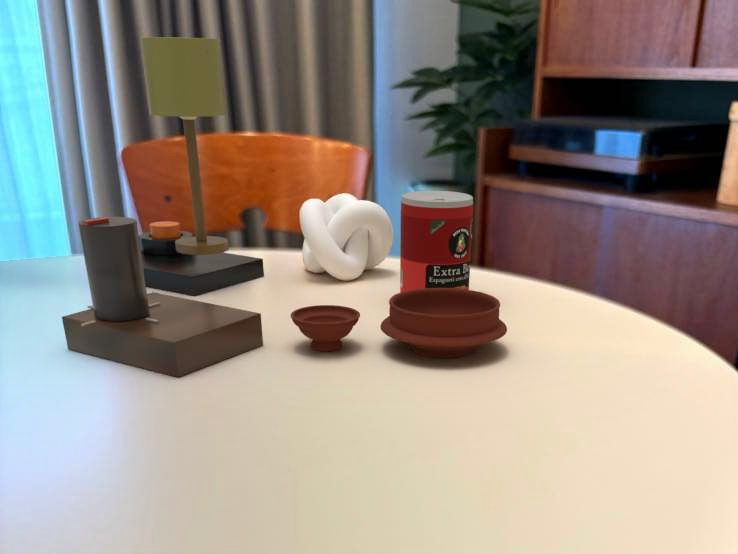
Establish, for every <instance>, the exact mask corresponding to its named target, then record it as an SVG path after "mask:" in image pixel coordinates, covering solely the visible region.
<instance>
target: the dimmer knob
mask: <svg viewBox="0 0 738 554" xmlns="http://www.w3.org/2000/svg"><path fill="white" fill-rule="evenodd" d="M77 224H78V230H79V236H80V243H81V246H82V247H81V248H82V251H83V252H82V253H83V259H84V264H85V265H84V266H85V270H86V276H87V281H88V286H89V293H90V299H91V304H92V306H93V310H94V315H95V317H96V318H97V319H100V320H104V321H129V320H135V319H139V318H143V317H145V316H147V315H148V314H149V313H150V312H149V305H148V298H147V294H148V292H147V291H148V290H147V287H146V284H145V277H144V270H143V263H142V256H141V249H140V242H139V235H140V234H139V228H138V221H137V219H135V218H133V217H125V216H99V217H91V218H85V219H81V220H79V221H78V223H77Z"/></svg>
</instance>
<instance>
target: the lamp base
mask: <svg viewBox="0 0 738 554" xmlns="http://www.w3.org/2000/svg"><path fill="white" fill-rule="evenodd" d="M180 231H181V237H176V238H152V237H151V231H148V232H143V233H141V234H138V235H139V242H140V249H141V256H142V263H143V270H144V277H145V284H146V288H149V289H153V290H160V291H164V292H170V293H174V294H178V295H179V294H180V295H184V296H188V297H189V296H190V297H198V296H202V295H205V294H209V293H212V292H215V291H220V290H222V289H223V290H224V289H226V288H229V287H233V286H236V285H241V284H244V283H247V282H251V281H253V280H257V279H262V278H264V277H265V269H264V259H263V258H261V257H254V256H248V255H243V254H235V253H228V252H222V253H218V254H210V255H189V254H182V253H179V252H177V251H176V246H175V241H176V240H178V239H181V238H185V237H193V236H194V235H195V234H193V233H192V232H190V231H184V230H180Z"/></svg>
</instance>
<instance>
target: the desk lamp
mask: <svg viewBox="0 0 738 554" xmlns="http://www.w3.org/2000/svg"><path fill="white" fill-rule="evenodd" d="M139 42H140V50H141V59H142V65H143V72H144V81H145V89H146V97H147V104H148V112H149V115H150V116H154V117H156V116H157V117H172V118H173V117H178V118H180V119H182V122H183V133H184V138H185V139H184V140H185V142H184V143H185V150H186V159H187V168H188V178H189V186H190V197H191V205H192V215H193V223H194V231H195V232H194V233H195V236H193V237H185V238H181V239H178V240H176V241H175V246H176V251H177V252H179V253H182V254H189V255H210V254H218V253H222V252H223V253H227V251H228V252H229V249H230V247H229V239H228V238H226V237H223V236H216V235H207V228H206V227H207V226H206V219H205V208H204V199H203V189H202V181H201V170H200V160H199V151H198V141H197V131H196V121H195V120H196V119H197V118H198V117H219V116H226V115H227V109H226V98H225V87H224V75H223V64H222V63H223V62H222V53H221V40H220V38H211V37H209V38H208V37H171V36H169V37H165V36H163V37H161V36H154V37H153V36H145V37H144V36H143V37H139Z"/></svg>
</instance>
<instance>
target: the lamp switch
mask: <svg viewBox="0 0 738 554" xmlns="http://www.w3.org/2000/svg"><path fill="white" fill-rule="evenodd" d="M149 231H150V232H151V237H152V238H176V237H181V231H182V230H181V224H180V222H178V221H170V220H167V221H165V220H164V221H163V220H162V221H154V222H151V223H149Z"/></svg>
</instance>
